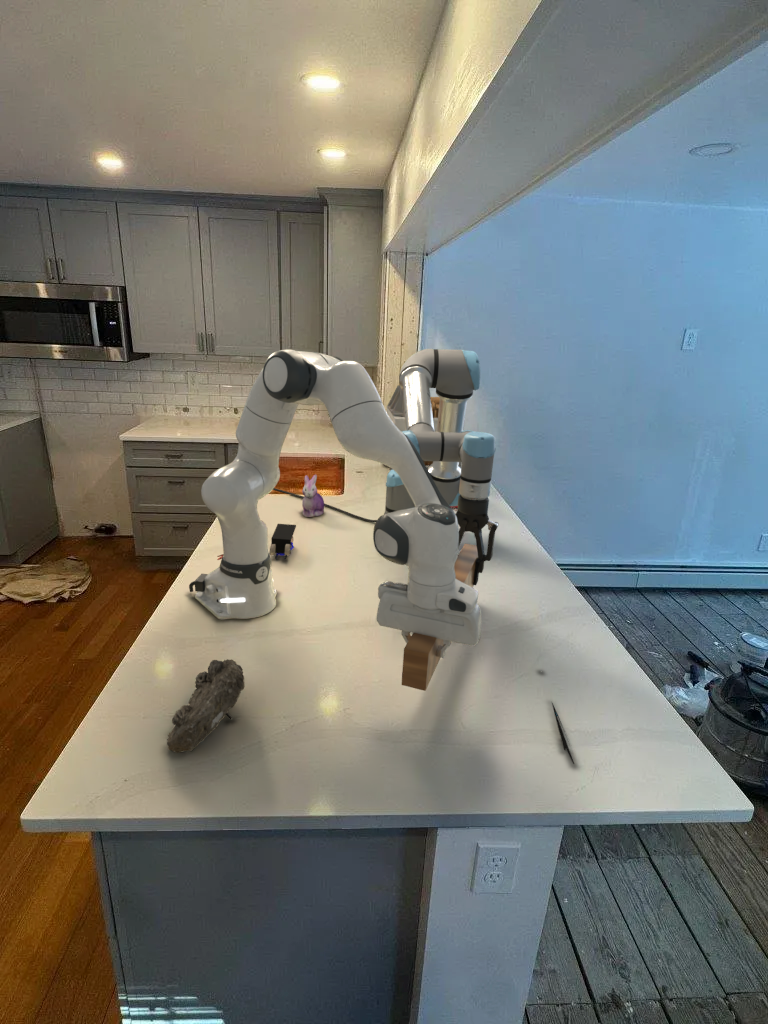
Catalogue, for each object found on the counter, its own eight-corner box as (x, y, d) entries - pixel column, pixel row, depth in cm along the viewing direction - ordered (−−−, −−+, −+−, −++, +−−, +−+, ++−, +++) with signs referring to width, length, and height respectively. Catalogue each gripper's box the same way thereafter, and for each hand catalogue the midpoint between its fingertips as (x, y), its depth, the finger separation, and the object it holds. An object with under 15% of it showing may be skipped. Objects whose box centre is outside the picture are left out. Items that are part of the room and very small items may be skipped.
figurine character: (291, 566, 174) (297, 542, 188) (290, 545, 171) (296, 522, 184) (269, 566, 174) (276, 541, 187) (268, 544, 171) (275, 521, 184)
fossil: (192, 660, 117) (244, 628, 112) (224, 691, 120) (276, 661, 115) (142, 746, 98) (202, 712, 93) (182, 779, 101) (242, 748, 96)
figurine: (305, 519, 209) (305, 480, 204) (296, 510, 217) (296, 472, 212) (329, 516, 213) (330, 478, 208) (319, 507, 222) (319, 470, 216)
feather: (541, 676, 126) (546, 670, 126) (574, 768, 100) (581, 761, 99) (535, 672, 126) (540, 666, 126) (566, 764, 100) (573, 756, 99)
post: (462, 570, 155) (464, 543, 152) (479, 573, 154) (482, 546, 151) (401, 685, 106) (403, 648, 103) (425, 691, 105) (428, 654, 102)
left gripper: (373, 586, 107) (370, 649, 112) (480, 608, 101) (473, 673, 105) (384, 572, 113) (381, 633, 117) (486, 592, 106) (479, 655, 111)
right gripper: (435, 495, 139) (428, 580, 147) (508, 505, 133) (497, 593, 141) (442, 486, 145) (435, 569, 153) (512, 496, 140) (501, 581, 148)
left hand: (425, 652), depth 111 cm, fingers closed on post, 5 cm apart
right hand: (465, 580), depth 147 cm, fingers closed on post, 5 cm apart
